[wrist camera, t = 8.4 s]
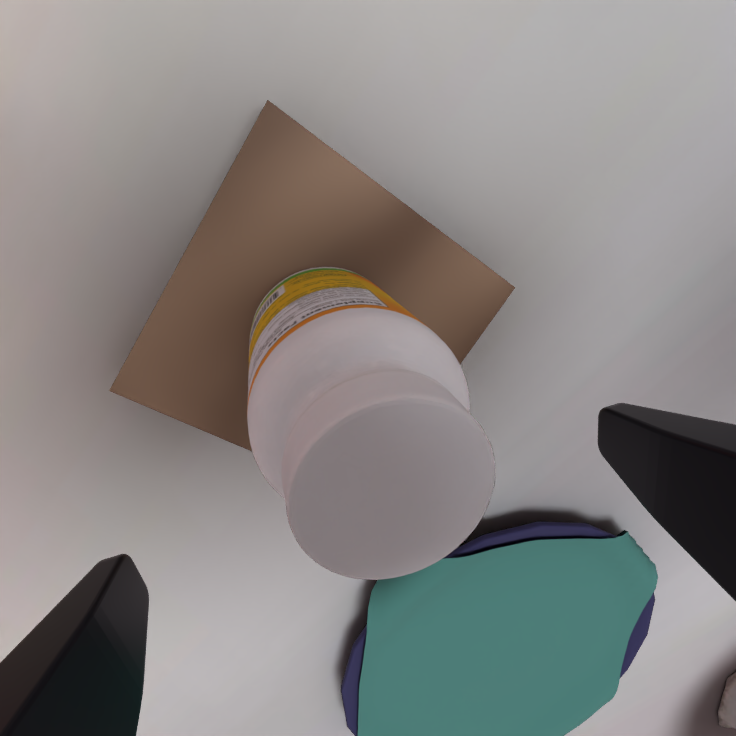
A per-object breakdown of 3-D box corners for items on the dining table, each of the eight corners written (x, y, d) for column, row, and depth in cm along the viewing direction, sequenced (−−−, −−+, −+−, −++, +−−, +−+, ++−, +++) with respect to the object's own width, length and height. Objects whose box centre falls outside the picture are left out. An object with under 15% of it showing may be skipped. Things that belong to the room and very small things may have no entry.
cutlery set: (670, 487, 27) (704, 512, 25) (561, 787, 38) (578, 822, 36) (343, 518, 23) (352, 552, 21) (324, 850, 34) (329, 894, 32)
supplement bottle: (402, 384, 19) (536, 562, 10) (270, 417, 18) (286, 644, 9) (382, 250, 16) (530, 324, 8) (231, 281, 16) (201, 404, 7)
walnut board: (497, 280, 19) (515, 287, 18) (356, 478, 22) (363, 498, 20) (266, 107, 15) (267, 99, 14) (120, 374, 17) (109, 390, 16)
